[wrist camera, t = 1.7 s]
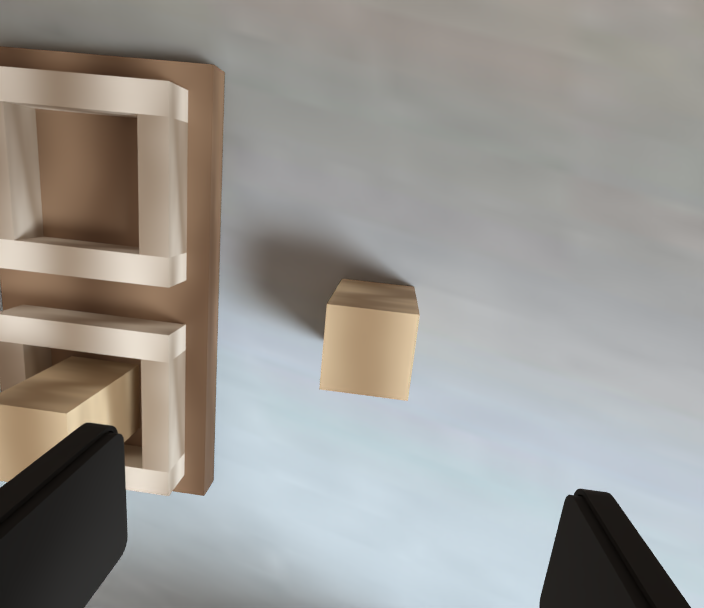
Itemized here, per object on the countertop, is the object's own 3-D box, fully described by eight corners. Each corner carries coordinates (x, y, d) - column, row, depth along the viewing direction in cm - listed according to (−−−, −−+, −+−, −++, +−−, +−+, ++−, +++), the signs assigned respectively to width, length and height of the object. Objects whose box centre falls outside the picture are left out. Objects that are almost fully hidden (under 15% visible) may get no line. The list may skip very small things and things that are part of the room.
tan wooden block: (414, 286, 26) (419, 314, 20) (405, 354, 27) (407, 400, 21) (342, 278, 26) (326, 304, 20) (335, 346, 27) (319, 389, 21)
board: (224, 72, 24) (149, 20, 16) (213, 480, 30) (154, 574, 22) (3, 53, 25) (-162, -5, 17) (35, 455, 30) (-78, 538, 23)
